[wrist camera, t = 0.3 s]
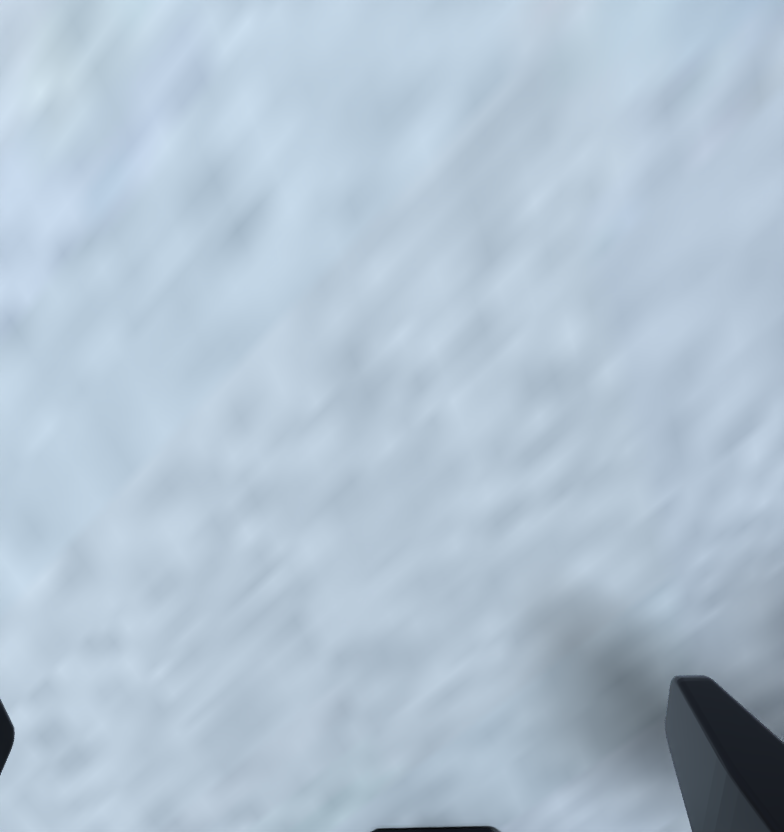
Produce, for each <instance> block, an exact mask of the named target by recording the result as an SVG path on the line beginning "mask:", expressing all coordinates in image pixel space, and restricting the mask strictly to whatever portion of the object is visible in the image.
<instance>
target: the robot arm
mask: <svg viewBox="0 0 784 832" xmlns="http://www.w3.org/2000/svg"><path fill="white" fill-rule="evenodd" d="M665 730H666V737H667V742H668V746H669V749H670V753H671V756H672V760H673V764H674V767H675V771H676V775H677V778H678V782H679V786H680V789H681V793H682V796H683V800H684V804H685V807H686V811H687V815H688V818H689V822H690V826H691V829H692V832H784V743H783V742H782V741H781V740H780V739H779V738H778V737H777V736H775V735H774V734H773V733H772V732H771V731H770V730H769V729H768V728H766V727H765V726H764V725H763V724H762V723H761V722H760V721H759V720H757V719H756V718H755V717H754V716H753V715H752V714H751V713H750V712H748V711H747V710H746V709H745V708H744V707H743V706H742V705H741V704H739V703H738V702H737V701H736V700H735V699H734V698H733V697H732V696H730V695H729V694H728V693H727V692H726V691H725V690H724V689H723V688H722V687H720V686H719V685H718V684H717V683H716V682H715V681H714V680H712V679H711V678H709V677H707V676H703V675H686V676H675V677H674V678H673V679H672V681H671V684H670V690H669V697H668V704H667V711H666V719H665ZM14 735H15V732H14V726H13V724H12V722H11V720H10V718H9V716H8V714H7V712H6V710H5V708H4V705H3V703H2V701H1V699H0V775H1V772H2V770H3V768H4V765H5V763H6V761H7V758H8V756H9V753H10V751H11V749H12V746H13V742H14ZM372 832H493V831H492V830H490V829H487V828H473V829H426V830H378V831H372Z"/></svg>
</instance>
